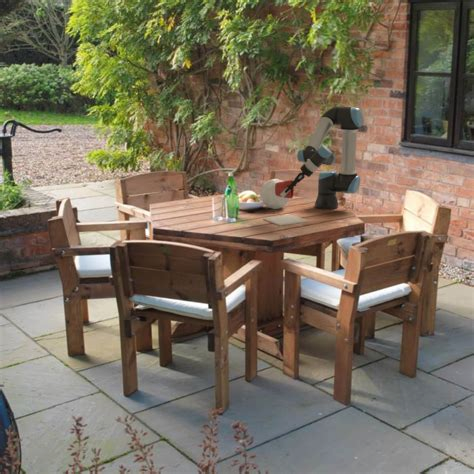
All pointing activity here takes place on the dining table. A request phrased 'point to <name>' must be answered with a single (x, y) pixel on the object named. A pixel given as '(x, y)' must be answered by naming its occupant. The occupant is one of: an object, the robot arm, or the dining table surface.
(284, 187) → the flower pot
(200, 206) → the dining table surface
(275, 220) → the stone tile
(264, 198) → the geometric orb
